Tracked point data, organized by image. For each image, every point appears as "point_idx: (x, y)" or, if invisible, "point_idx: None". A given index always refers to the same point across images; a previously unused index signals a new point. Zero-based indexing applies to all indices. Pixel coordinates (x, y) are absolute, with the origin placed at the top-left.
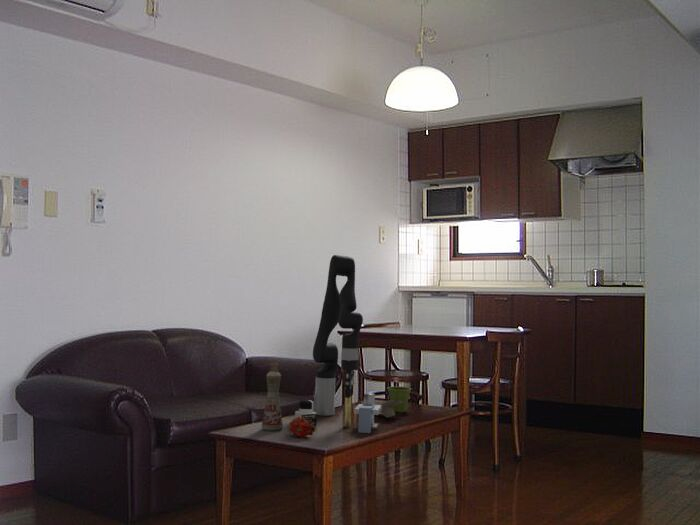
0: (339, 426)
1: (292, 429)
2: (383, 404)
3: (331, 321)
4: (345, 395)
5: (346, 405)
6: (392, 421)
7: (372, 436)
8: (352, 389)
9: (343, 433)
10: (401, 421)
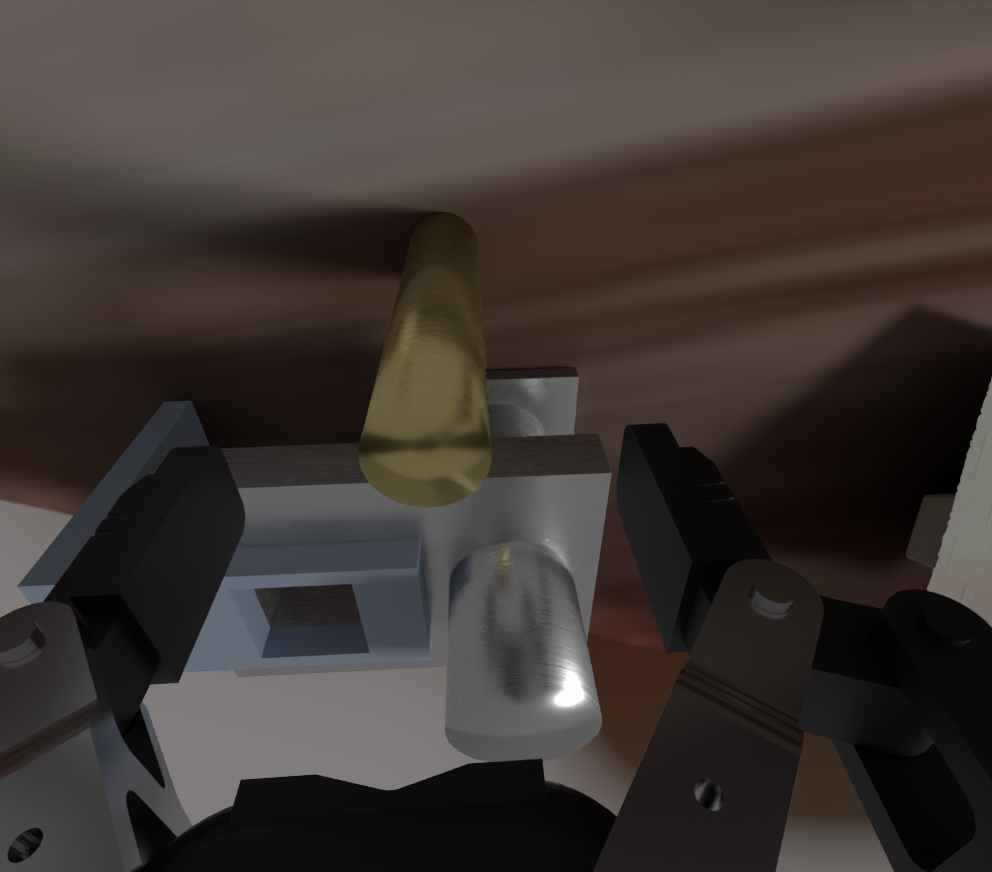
0: (393, 154)
1: None
2: (976, 576)
3: None
4: (159, 472)
5: (386, 343)
6: (771, 541)
7: None
8: (650, 582)
9: (11, 281)
10: None
